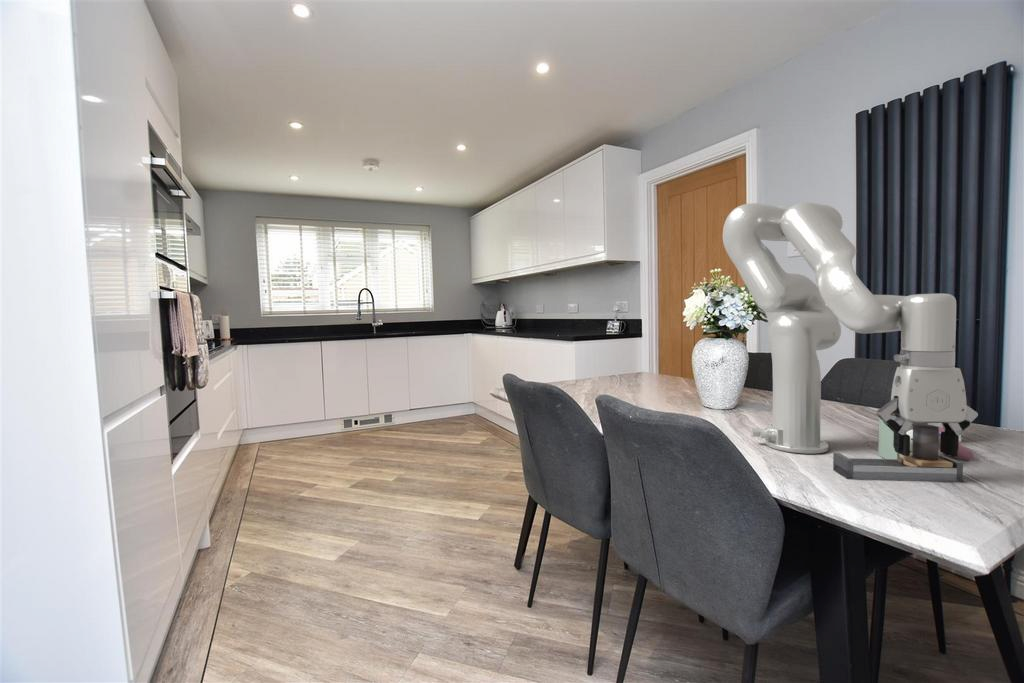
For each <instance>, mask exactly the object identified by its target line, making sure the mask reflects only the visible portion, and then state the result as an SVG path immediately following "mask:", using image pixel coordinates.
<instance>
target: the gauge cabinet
mask: <svg viewBox="0 0 1024 683" xmlns="http://www.w3.org/2000/svg"><path fill="white" fill-rule="evenodd" d="M890 416H891V418H892V419H893V420H895V419H896V417H895V416H893V415H892V413H891V414H890ZM913 424H927V425H928V423H914V422H913V423H912V425H911V427H910V428H909V430H908V431H907V433H906V434H907V435H909V436H910V453H912V451H913ZM893 440H894V432H893V431H891V430H890V428H889V427H888V426H887V425H886V424H885V423H884V422H883V420H881V419H880V418H879V419H878V451H877V452H878V455H879V457H880V456H881V457H880V458H882V457H883V458H882V459H884V458H885V459H903V458H901V457H899V453H897V452H895V449H894V446H893Z"/></svg>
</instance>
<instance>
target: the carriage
mask: <svg viewBox="0 0 1024 683" xmlns="http://www.w3.org/2000/svg"><path fill="white" fill-rule="evenodd" d="M938 441H939V427H937V426H933V425H927V424H913V451H912V453H910V455H909V456H904V455H901V454H899V457H901V458H903V459H905V460H904V463H903V464H905V465H907V466H909V467H953V463H951V462H949V461H946V460H944V459H941V458H939V457H938V455H939V451H938Z"/></svg>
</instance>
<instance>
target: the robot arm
mask: <svg viewBox="0 0 1024 683" xmlns="http://www.w3.org/2000/svg"><path fill="white" fill-rule="evenodd" d="M843 222H844V221H843V217H842V215H841V213H840V212H839V211H838V209H837V208H835V207H833V206H830V205H826V204H820V203H815V202H799V203H796V204H794V205H792V206H777V205H769V204H763V203H752V202H751V203H745V204H742V205H741V204H740V205H738V206H737V207H735V208H734V209H733V210H731V212H730V213H728V215H727V217H726V219H725V221H724V225H723V229H722V242H723V246H724V249H725V251H726V253H727V255H728V257H729V259H730V260H731V262H732V263H733V265H734V267H735V268H736V270H737V271H738V273H739V275H740V277H741V279H742V281H743V283H744V285H745V286H746V288H747V290H748V292H749V293H750V295H751V296H752V299H753V301H754V302H755V304H756V305H757V307H758V308H759V309H760V310H762V311H763V312H768V313H782V314H779V315H778V316H777V317H775V318H774V320H773V321H771V323H770V324H769V327H768V333H767V334H768V335H767V336H768V343H769V350H770V353H771V362H772V424H771V423H770V424H768V426H767V427H764V428H750V432H749V433H750V436H751V437H758V438H759V437H760V439H764V440H765V441H764V442H765V445H766V446H768V447H770V448H772V449H774V450H778V451H782V452H788V453H796V454H807V455H814V454H822V453H826V452H828V451H829V444H828V443H827V442H826V441H823V440H821V413H822V412H821V408H822V406H821V404H822V402H821V401H822V398H821V397H822V394H821V392H822V388H821V387H822V382H821V380H822V379H821V378H822V377H821V376H822V375H821V373H822V372H821V363H820V362H819V358H818V354H817V351H822V350H827V349H830V348H832V347H833V346H835V345H836V344H837V343H838V341H839V340H840V338H841V335H842V327H841V324H842V325H843V326H845V328H847V329H848V330H850V331H853V332H855V333H857V334H874V333H875V334H877V333H891V332H900V340H901V341H900V351H899V354H894V355H893V360H894V361H895V362H898V363H899V365H900V366H896V370H895V373H894V376H893V382H892V388H891V395H890V401H888V402H887V403H886V404H885V405H883V406H882V407H880V408H879V409H877V410H876V412H875V414H876V415H877V416H878V417H879V419H881V420H883V422H884V423H885V424H886V425H887V426H888V427H889V428H890V430H891V431H893V432H894V440H893V446H894V449H895V452H897V453H899V454H901V455H904V456H909V455H910V436H909V435H907V434H906V433H907V431H908V430H909V428H910V427H911V425H912V423H913V422H914V423H941V425H942V427H943V428H944V430H945V432H943V431H941V440H940V451H941V452H942V453H941V452H940V453H941V454H943V453H944V454H947V455H946V456H948V457H949V456H950V457H952V458H954V457H955V458H958V457H957V451H958V444H959V436H960V435H962V436H963V433H964V431H965V430H966V429H967V428H968V427H970V426H971V423H972V422H973V421H975V420H976V419H977V417H978V416H979V414H978V412H977V411H975V410H974V409H973V408H971V407H970V406H968V405H967V396H966V388H965V380H964V377H963V374H962V371H961V368H958V367H955V366H956V335H957V334H956V331H957V300H956V297H955V296H954V295H952V294H950V293H917V294H910V295H907V296H906V295H895V294H873V293H872V292H871V291H870V290H869V288H867V286H866V285H865V284H864V283H863V281H862V280H861V279H860V278H859V276H858V275H857V274H856V272H855V271H856V270H854V267H853V260H854V258H855V256H856V254H857V249H856V248H857V247H856V246H855V245H854V244H853V243H852V241H850V239H848V237H847V236H846V235H845V234H844V232H842V228H843ZM762 241H770V242H790V243H791V245H792V246H793V247H794V249H795V250H796V251H797V252H798V253H799V255H800V256H801V257H802V258H803V259H804V261H805V262H806V263H807V265H808V266H809V267H810V268H811V270H812V271H813V272H814V276H815V282H816V283H815V282H814V281H813V280H812V279H810V278H809V277H808V276H806V275H804V274H799V273H790V272H789V273H788V272H786V271H785V270H784V269H783V268H782V266H781V265H780V263H779V261H778V260H777V259H776V256H775V255H774V253H773V252H772V251H771V250H770V249H769V248H768V247H767V246H766V245H765V244H764V243H763V242H762ZM891 413H892V415H893V416H895V417H896V419H895V420H893V419H892V418H891V416H890V414H891ZM944 454H943V455H944Z"/></svg>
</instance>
